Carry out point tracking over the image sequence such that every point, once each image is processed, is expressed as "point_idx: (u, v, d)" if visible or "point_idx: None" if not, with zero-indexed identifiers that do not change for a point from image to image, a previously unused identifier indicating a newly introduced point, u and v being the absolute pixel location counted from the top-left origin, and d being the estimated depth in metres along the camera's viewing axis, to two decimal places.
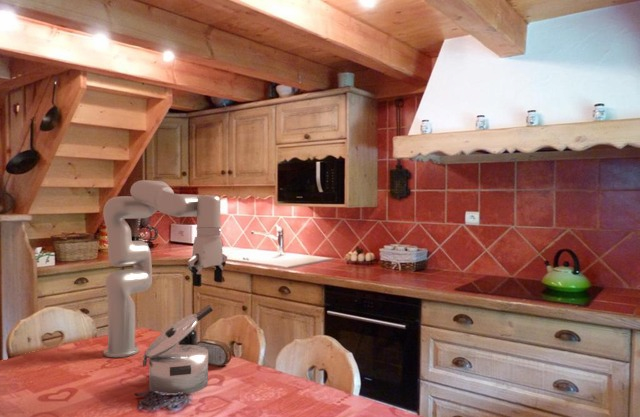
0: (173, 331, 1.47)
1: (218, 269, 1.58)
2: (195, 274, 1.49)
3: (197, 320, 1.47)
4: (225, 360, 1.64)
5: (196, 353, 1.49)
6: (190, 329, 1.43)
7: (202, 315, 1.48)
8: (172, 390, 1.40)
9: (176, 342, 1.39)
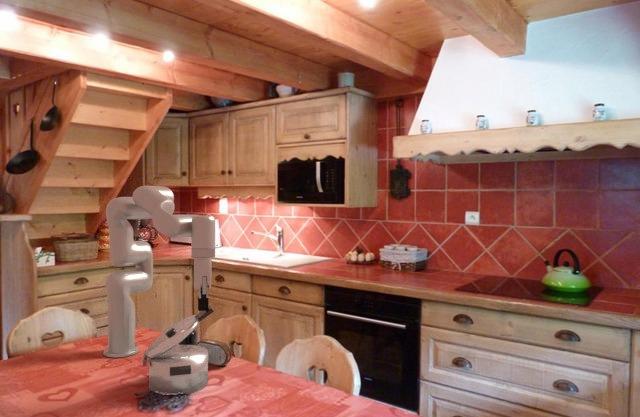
0: (173, 331, 1.47)
1: None
2: (204, 299, 1.49)
3: (198, 321, 1.47)
4: (225, 360, 1.64)
5: (196, 353, 1.49)
6: (190, 329, 1.43)
7: (203, 316, 1.48)
8: (172, 390, 1.40)
9: (176, 343, 1.39)
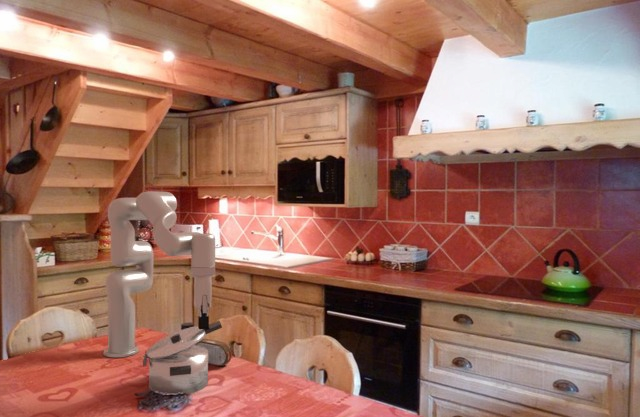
0: (179, 338, 1.47)
1: None
2: (204, 317, 1.49)
3: (205, 333, 1.48)
4: (225, 360, 1.64)
5: (196, 353, 1.49)
6: (197, 340, 1.43)
7: (210, 329, 1.49)
8: (172, 390, 1.40)
9: (181, 350, 1.40)
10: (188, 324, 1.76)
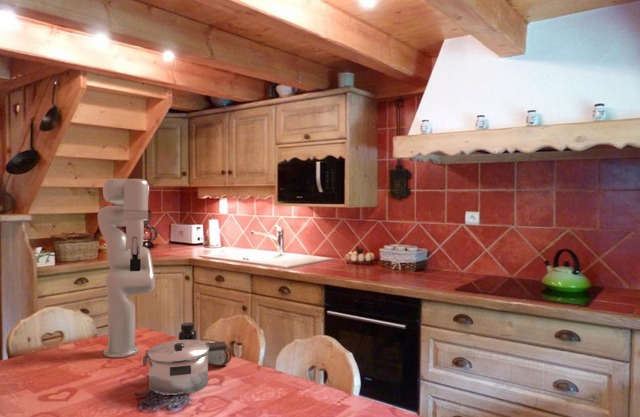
0: (182, 347, 1.48)
1: None
2: (136, 259, 1.54)
3: (208, 350, 1.48)
4: (225, 360, 1.64)
5: None
6: (200, 355, 1.44)
7: (215, 348, 1.50)
8: (172, 390, 1.40)
9: (183, 360, 1.40)
10: (188, 324, 1.76)
